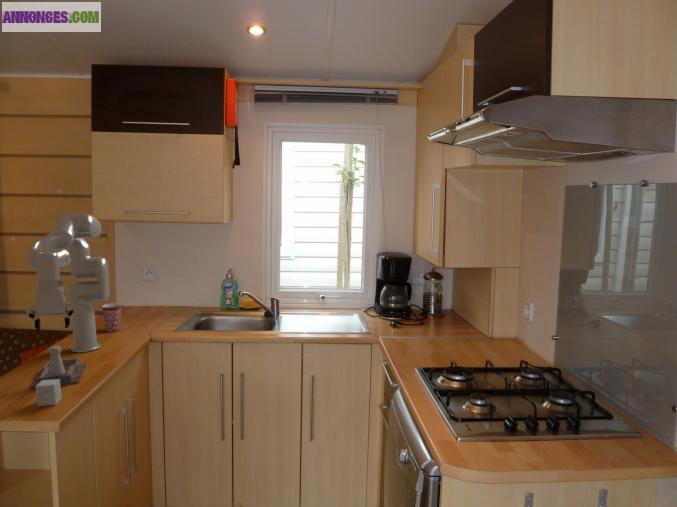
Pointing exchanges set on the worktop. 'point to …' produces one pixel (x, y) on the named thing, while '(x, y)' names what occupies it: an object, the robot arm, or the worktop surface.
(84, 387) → the worktop surface
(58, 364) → the salt shaker
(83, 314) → the robot arm
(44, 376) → the keyhole rails
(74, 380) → the keyhole board
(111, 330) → the mug
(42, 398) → the product box
